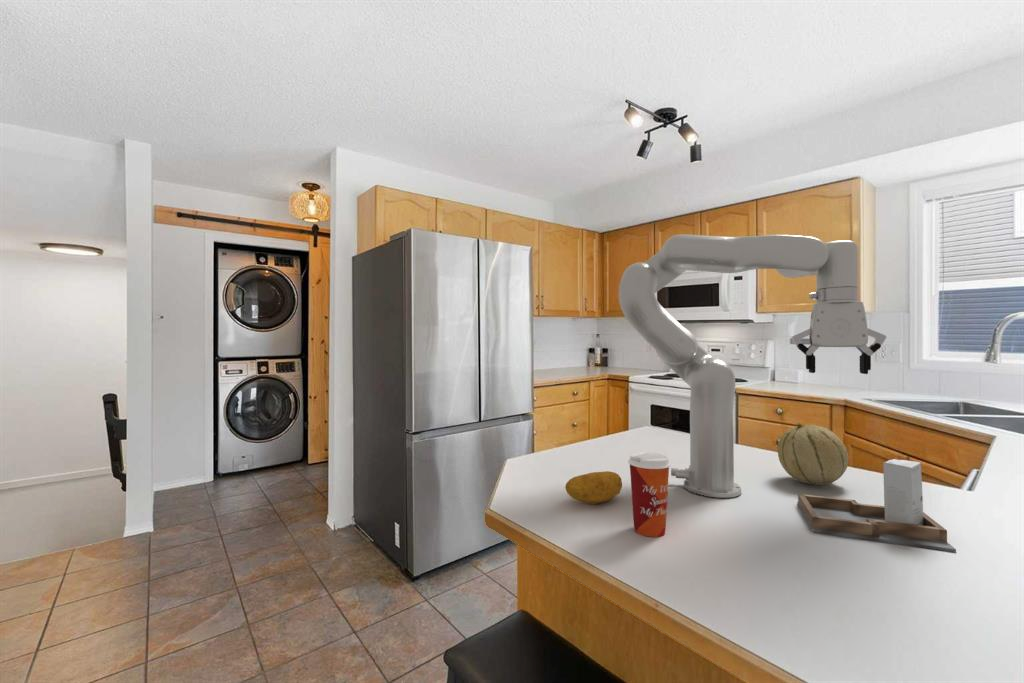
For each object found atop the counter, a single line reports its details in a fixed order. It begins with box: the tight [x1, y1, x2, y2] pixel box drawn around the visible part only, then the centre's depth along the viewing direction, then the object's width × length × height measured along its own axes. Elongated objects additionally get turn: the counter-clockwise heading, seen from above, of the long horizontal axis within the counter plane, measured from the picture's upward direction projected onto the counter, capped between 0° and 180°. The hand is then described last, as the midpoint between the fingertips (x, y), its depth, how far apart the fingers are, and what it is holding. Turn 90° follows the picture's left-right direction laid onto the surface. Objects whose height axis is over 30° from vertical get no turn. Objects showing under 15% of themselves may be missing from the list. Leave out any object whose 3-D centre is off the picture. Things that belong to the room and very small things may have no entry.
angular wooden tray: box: [797, 493, 957, 553], centre depth 85 cm, size 20×16×2 cm
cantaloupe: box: [777, 422, 850, 486], centre depth 111 cm, size 15×15×15 cm
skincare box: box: [882, 458, 924, 526], centre depth 83 cm, size 6×4×12 cm
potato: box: [564, 471, 623, 505], centre depth 98 cm, size 8×14×7 cm, turn 110°
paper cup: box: [627, 451, 672, 538], centre depth 83 cm, size 8×8×14 cm
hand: (837, 373), depth 100 cm, fingers open, 9 cm apart
